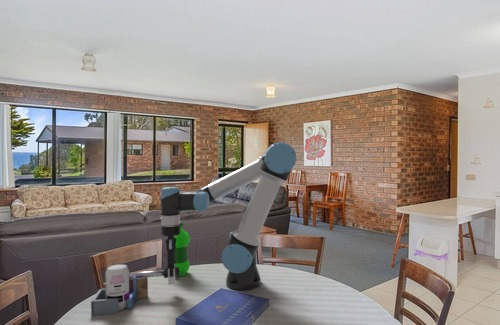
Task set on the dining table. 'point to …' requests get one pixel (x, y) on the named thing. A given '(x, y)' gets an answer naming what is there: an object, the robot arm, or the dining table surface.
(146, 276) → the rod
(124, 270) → the supplement can
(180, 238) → the plastic bottle
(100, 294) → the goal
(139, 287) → the brown wooden board
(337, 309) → the dining table surface
